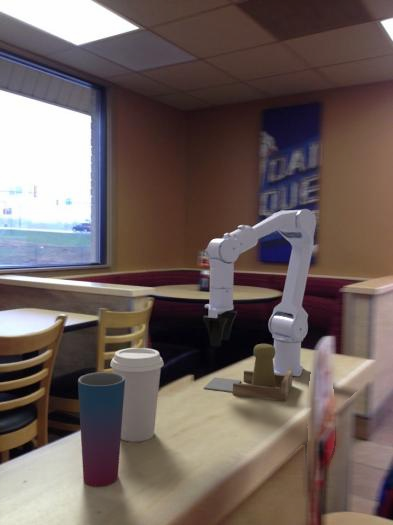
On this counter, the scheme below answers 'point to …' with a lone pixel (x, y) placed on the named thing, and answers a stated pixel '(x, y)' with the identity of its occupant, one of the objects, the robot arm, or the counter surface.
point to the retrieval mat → (221, 384)
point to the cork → (264, 366)
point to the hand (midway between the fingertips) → (220, 342)
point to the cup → (101, 425)
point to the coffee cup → (138, 391)
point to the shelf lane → (264, 391)
